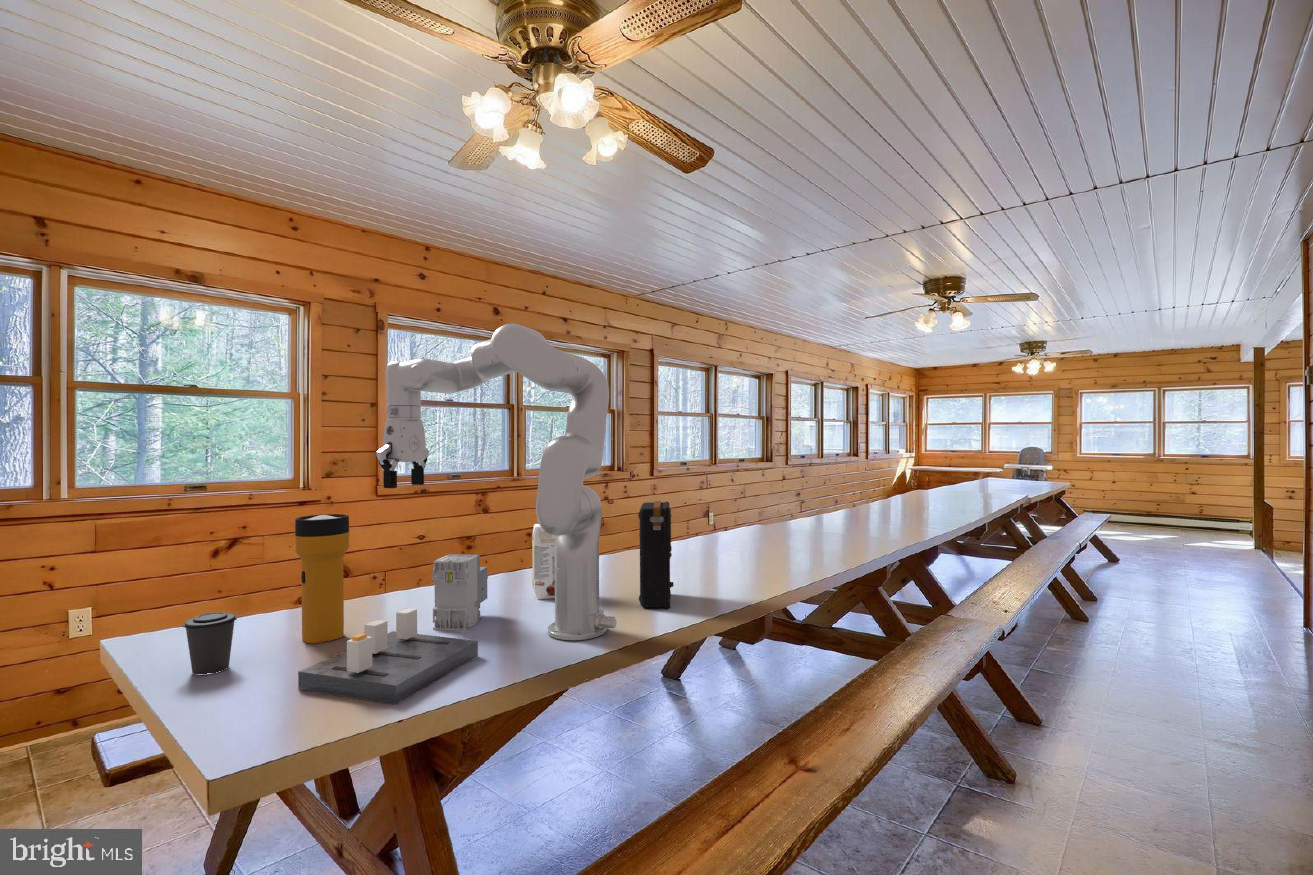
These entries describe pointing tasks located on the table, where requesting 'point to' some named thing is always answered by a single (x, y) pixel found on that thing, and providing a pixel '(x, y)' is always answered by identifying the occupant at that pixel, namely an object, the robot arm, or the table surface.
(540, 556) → the juice carton
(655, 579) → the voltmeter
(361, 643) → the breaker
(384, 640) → the block
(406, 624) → the block
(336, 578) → the flashlight
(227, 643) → the coffee cup
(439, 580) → the circuit breaker
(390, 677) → the grey slider panel
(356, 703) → the table surface
